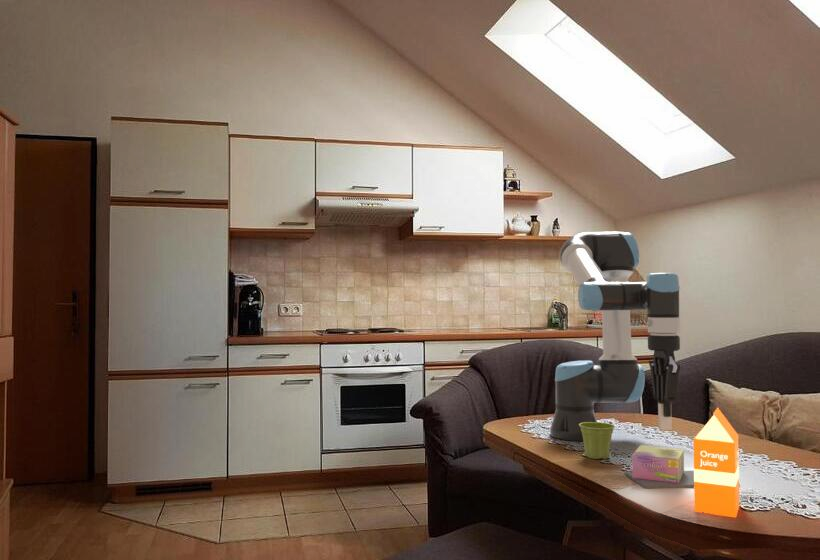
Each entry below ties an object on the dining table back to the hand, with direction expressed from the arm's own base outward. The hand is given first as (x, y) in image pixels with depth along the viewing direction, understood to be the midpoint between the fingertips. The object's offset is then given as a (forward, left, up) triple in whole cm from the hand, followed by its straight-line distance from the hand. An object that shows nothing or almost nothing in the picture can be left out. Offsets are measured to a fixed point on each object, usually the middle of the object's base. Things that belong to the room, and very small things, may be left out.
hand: (665, 429), depth 164 cm
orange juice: (+29, -2, -11) cm, 31 cm away
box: (0, -1, -7) cm, 7 cm away
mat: (+8, 0, -10) cm, 13 cm away
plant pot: (-16, -12, -11) cm, 23 cm away
